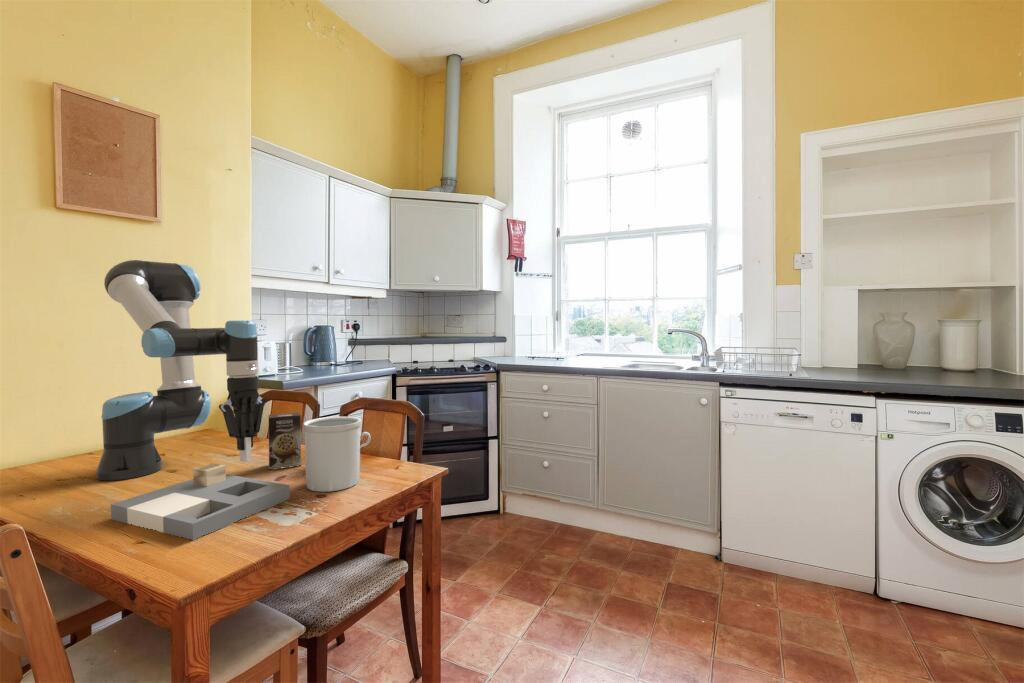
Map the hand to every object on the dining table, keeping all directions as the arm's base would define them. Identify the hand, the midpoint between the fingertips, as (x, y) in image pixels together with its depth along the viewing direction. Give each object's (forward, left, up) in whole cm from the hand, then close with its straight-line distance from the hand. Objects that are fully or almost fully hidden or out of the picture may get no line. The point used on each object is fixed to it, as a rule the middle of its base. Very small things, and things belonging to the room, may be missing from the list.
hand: (245, 460), depth 126 cm
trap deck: (+7, -16, -6) cm, 18 cm away
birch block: (0, -10, -3) cm, 10 cm away
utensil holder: (+23, +9, -7) cm, 25 cm away
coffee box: (-3, +16, -7) cm, 18 cm away
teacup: (+14, +24, -7) cm, 28 cm away
